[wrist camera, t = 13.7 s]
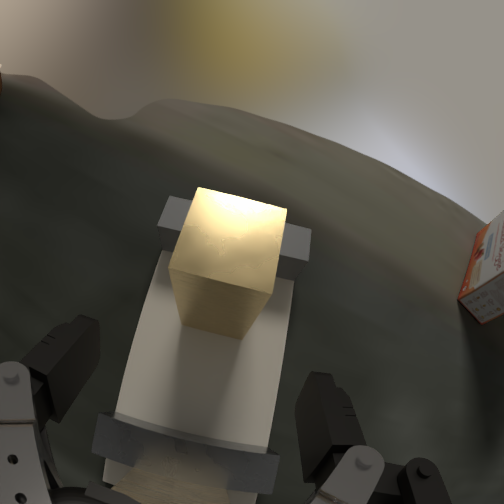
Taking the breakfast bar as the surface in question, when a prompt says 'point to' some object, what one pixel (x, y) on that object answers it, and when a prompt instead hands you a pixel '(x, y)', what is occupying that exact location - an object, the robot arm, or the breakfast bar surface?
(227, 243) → the brass block
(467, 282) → the cracker box
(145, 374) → the vise
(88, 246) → the breakfast bar surface
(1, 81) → the brown vase
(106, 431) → the sliding jaw
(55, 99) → the breakfast bar surface
